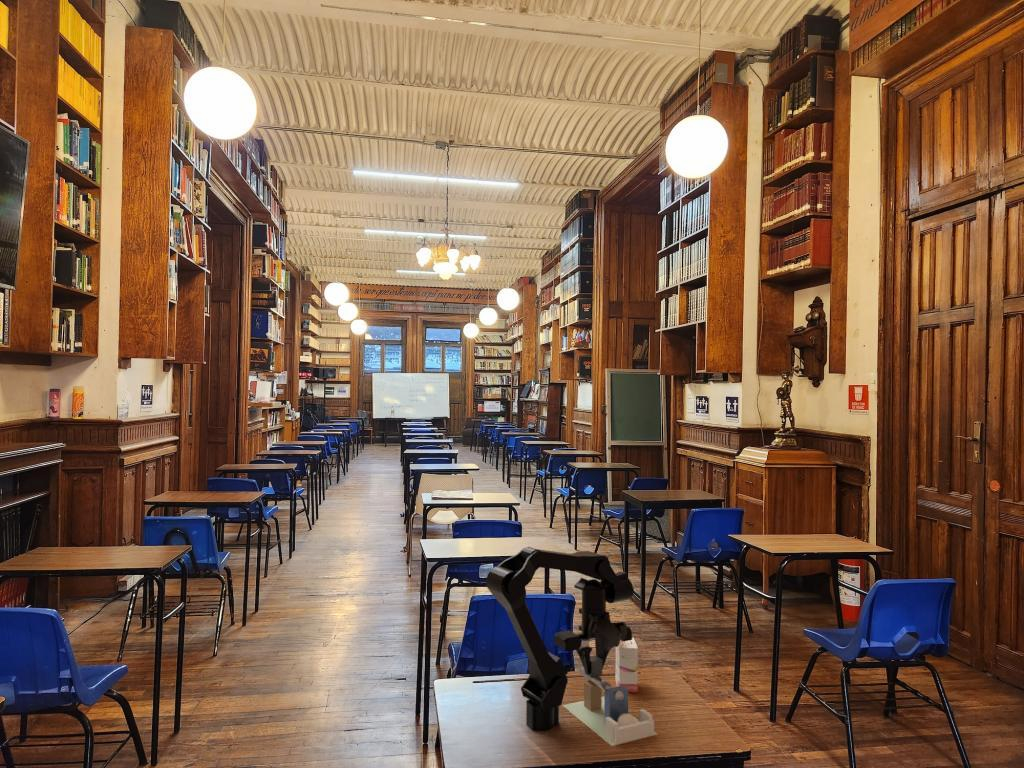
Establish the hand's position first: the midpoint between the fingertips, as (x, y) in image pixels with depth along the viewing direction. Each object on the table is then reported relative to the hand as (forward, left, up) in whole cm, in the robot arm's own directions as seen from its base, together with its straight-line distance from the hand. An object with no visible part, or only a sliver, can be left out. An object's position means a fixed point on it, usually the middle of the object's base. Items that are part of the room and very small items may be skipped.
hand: (593, 672), depth 158 cm
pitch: (0, -6, -9) cm, 11 cm away
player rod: (0, -3, -8) cm, 8 cm away
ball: (0, -13, -6) cm, 15 cm away
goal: (0, -14, -8) cm, 17 cm away
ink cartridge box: (+15, +8, -10) cm, 19 cm away
